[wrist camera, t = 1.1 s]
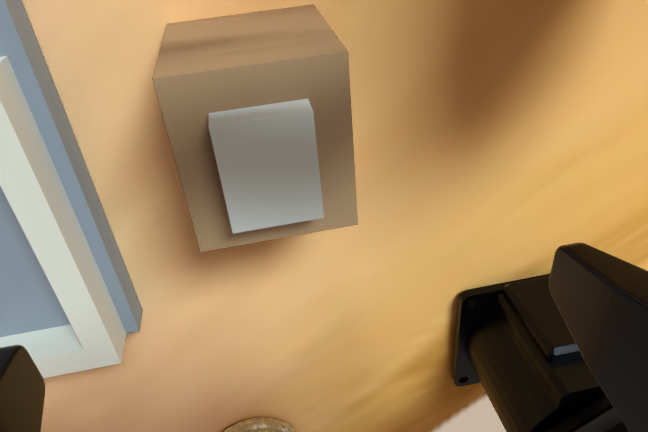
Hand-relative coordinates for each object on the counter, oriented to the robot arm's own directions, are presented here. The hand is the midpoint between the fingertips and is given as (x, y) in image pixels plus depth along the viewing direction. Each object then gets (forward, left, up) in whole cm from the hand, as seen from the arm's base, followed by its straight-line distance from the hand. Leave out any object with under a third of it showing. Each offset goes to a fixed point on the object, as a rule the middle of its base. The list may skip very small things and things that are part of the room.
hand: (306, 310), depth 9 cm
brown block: (0, 0, -11) cm, 11 cm away
